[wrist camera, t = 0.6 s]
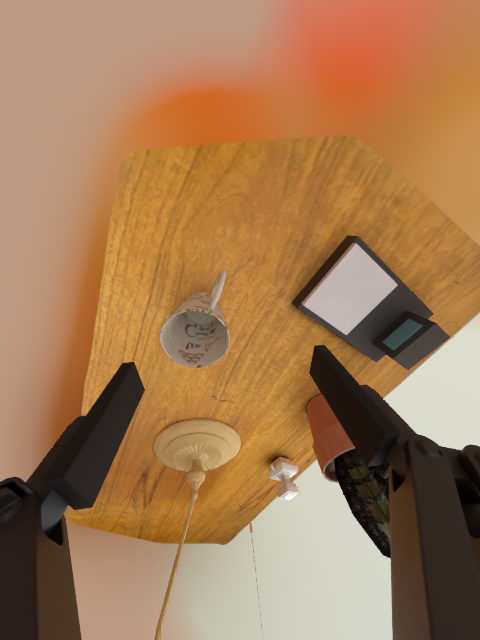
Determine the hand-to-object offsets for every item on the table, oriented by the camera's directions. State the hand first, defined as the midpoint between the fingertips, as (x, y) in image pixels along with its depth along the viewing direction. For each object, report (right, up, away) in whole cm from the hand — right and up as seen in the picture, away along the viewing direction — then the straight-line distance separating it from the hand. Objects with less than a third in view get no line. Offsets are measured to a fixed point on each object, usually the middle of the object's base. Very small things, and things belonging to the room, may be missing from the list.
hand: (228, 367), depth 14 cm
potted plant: (+22, -18, +33) cm, 43 cm away
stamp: (+13, -40, +43) cm, 60 cm away
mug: (-5, +7, +17) cm, 19 cm away
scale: (+23, +6, +20) cm, 31 cm away
